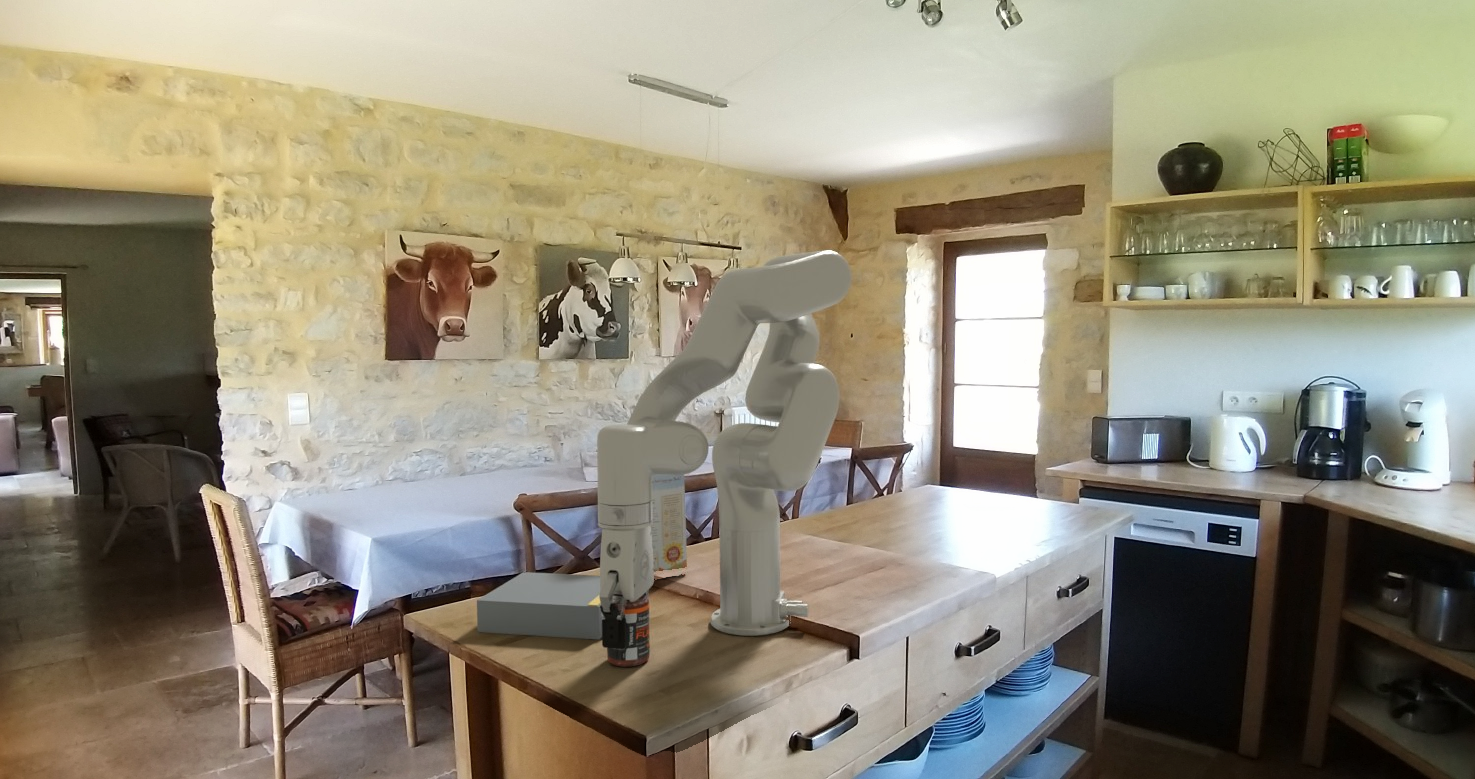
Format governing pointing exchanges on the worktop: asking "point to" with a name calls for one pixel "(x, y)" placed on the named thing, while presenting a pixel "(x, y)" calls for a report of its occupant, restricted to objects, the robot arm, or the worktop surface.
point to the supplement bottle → (633, 635)
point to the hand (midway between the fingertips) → (626, 635)
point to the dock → (543, 606)
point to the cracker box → (668, 522)
